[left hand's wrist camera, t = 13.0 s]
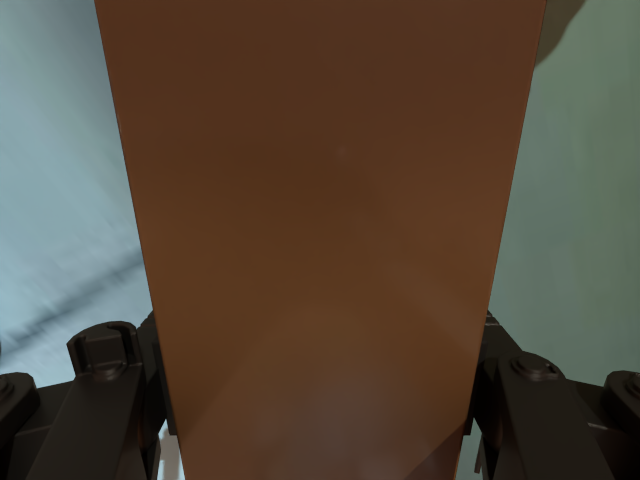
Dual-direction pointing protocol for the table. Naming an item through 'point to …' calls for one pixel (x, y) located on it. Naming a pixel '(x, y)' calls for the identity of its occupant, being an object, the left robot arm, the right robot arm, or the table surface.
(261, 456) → the bar
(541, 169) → the table surface
